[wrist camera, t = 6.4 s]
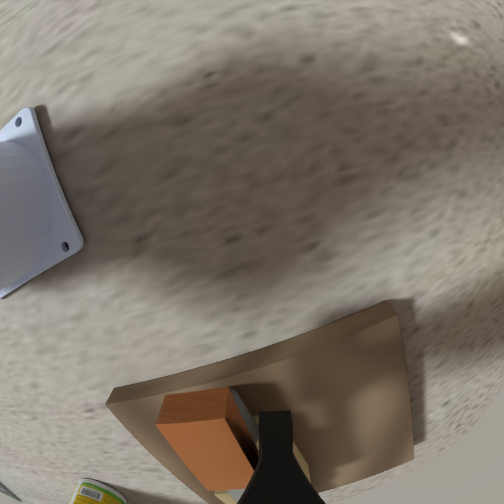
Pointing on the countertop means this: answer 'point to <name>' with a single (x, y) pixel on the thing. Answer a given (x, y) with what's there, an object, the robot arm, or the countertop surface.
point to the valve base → (301, 400)
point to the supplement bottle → (95, 493)
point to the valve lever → (210, 438)
